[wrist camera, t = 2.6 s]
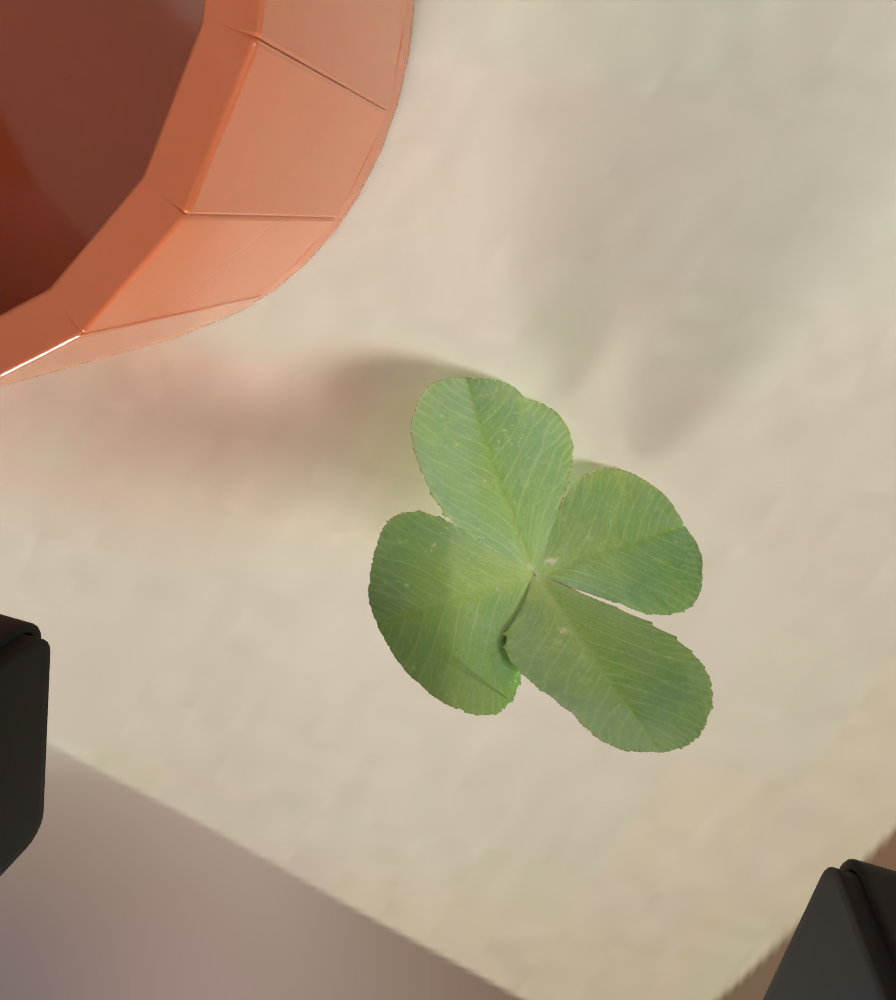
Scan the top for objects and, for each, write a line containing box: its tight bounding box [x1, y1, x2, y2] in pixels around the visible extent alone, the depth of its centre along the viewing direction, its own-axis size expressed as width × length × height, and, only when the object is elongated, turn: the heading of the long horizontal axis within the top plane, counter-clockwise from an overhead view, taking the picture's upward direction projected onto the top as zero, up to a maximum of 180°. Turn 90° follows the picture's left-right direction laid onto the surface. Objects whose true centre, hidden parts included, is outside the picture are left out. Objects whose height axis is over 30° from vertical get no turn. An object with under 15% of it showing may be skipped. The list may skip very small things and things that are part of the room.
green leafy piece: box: [368, 377, 713, 753], centre depth 17 cm, size 7×8×7 cm
